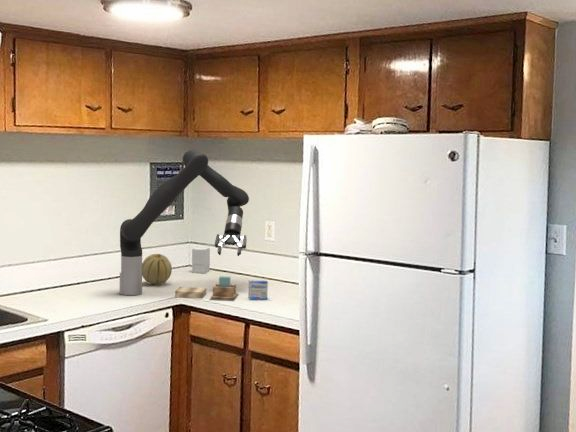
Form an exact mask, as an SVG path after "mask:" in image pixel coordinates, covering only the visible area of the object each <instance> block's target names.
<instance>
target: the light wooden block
mask: <svg viewBox="0 0 576 432" xmlns="http://www.w3.org/2000/svg"><path fill="white" fill-rule="evenodd" d="M207 290H208V288H207V287H191V286H189V287H188V286H179V288H177V289H176V290H175V291H174V294H175V295H174V298H175V299H177V298H179V299H180V298H183V299H203V298H205V296H206V295H207V293H208V292H207Z"/></svg>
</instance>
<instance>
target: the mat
mask: <svg viewBox="0 0 576 432" xmlns="http://www.w3.org/2000/svg"><path fill="white" fill-rule="evenodd" d="M239 295H240V293H238V295H237V296H236V298H235V299H234V300H216V299H211V297H210V298H209V300H208V301H214V302H235V301H236V299H237V298H238V296H239Z"/></svg>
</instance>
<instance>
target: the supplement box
mask: <svg viewBox="0 0 576 432" xmlns="http://www.w3.org/2000/svg"><path fill="white" fill-rule="evenodd" d="M210 252H211V251H210V247H199V246H198V247H195V248H192V249H191V267H192V268H191V270H192V271H191V272H192V274H193V273H194V274H195V273H196V274H206V273H209V272H210V271H211V270H210V269H211V268H210V267H211V266H210V265H211V264H210V263H211V262H210V261H211V259H210V257H211V256H210Z"/></svg>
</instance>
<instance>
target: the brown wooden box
mask: <svg viewBox="0 0 576 432" xmlns="http://www.w3.org/2000/svg"><path fill="white" fill-rule="evenodd" d="M238 294H239V293H238V292H237V284H232V283H230V287H219V283H215V286H212V295H211V296H210V298H211V299H216V300H234V299H235V298H236V296H237V295H238ZM238 296H239V295H238ZM236 299H237V298H236ZM236 299H235V300H236Z"/></svg>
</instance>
